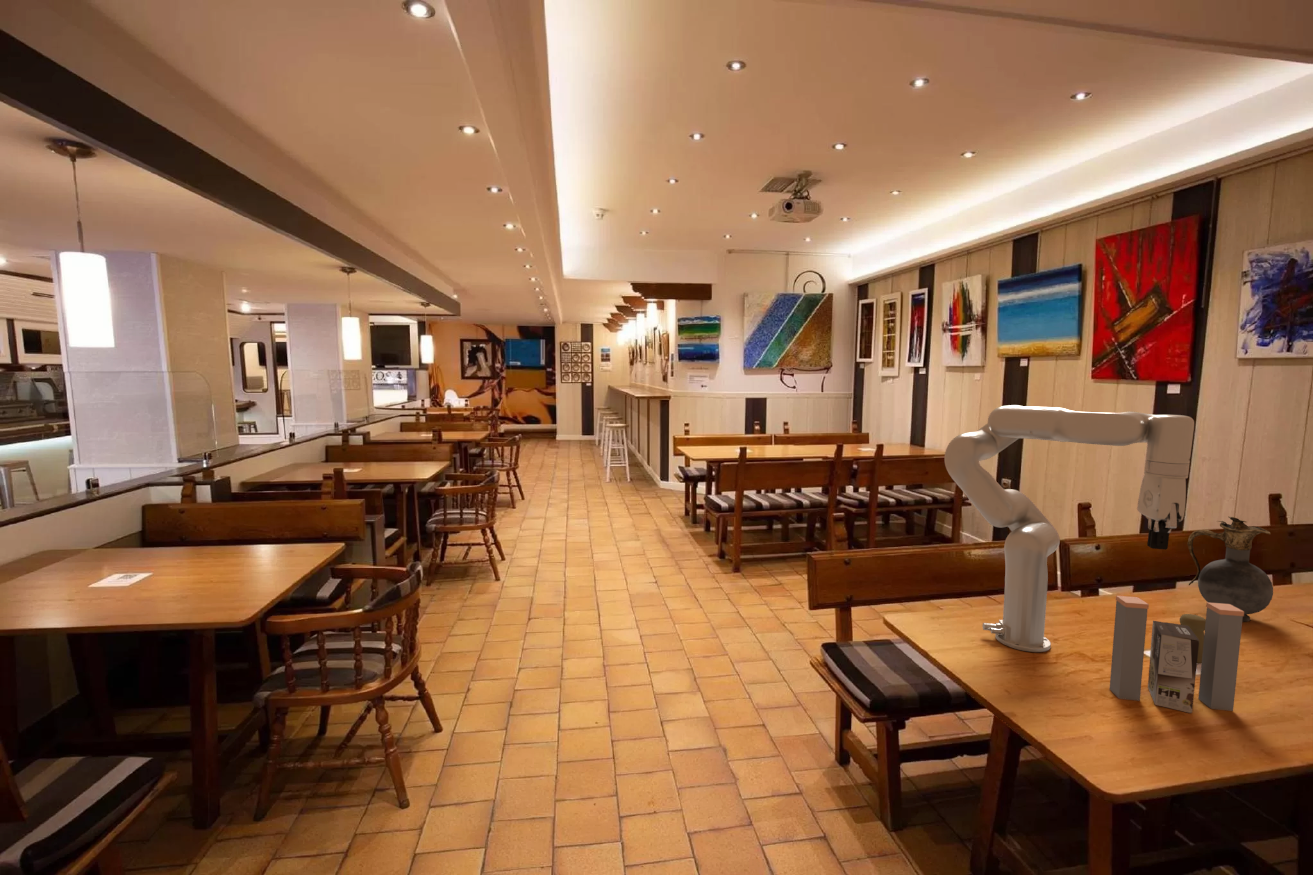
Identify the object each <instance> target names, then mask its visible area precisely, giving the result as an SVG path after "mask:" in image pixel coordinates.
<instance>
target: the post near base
mask: <svg viewBox="0 0 1313 875" xmlns="http://www.w3.org/2000/svg"><path fill="white" fill-rule="evenodd" d="M1115 602H1116V603H1115V614H1114V616H1115V617H1114V628H1113V642H1112V652H1111V654H1112V655H1111V666H1110V677H1109V678H1110V679H1109V691H1111V693H1112V694H1114V695H1115V696H1116V697H1117V698H1118V699H1120V700H1128V701H1129V700H1130V701H1138V702H1139V701H1141V693H1142V692H1141V690H1142V679H1143V668H1144V658H1145V657H1144V656H1145V655H1144V654H1145V645H1146V644H1145V643H1146V635H1147V634H1146V631H1147V622H1148V621H1147V620H1148V610H1149V606H1150V605H1149V603H1147V602H1146V601H1144V600H1143V599H1141V598H1139V597H1136V596H1126V595H1125V596H1124V595H1116V596H1115Z"/></svg>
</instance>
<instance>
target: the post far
mask: <svg viewBox="0 0 1313 875" xmlns="http://www.w3.org/2000/svg"><path fill="white" fill-rule="evenodd" d="M1205 604H1206V606H1205V607H1206V614H1205V619H1206V623H1205V631H1204V644H1203V654H1202V663H1201V664H1200V665H1201V667H1200V675H1199V676H1200V677H1199V687H1198V696H1197V697H1198V700H1199V701H1200V702H1202V703H1203V705H1206V706H1207V707H1208V708H1209V709H1212V710H1220V711H1230V712H1233V711H1234V707H1235V706H1234V705H1235V696H1236V695H1235V694H1236V685H1237V676H1238V669H1239V668H1238V666H1239V657H1240V656H1239V655H1240V647H1241V638H1242V628H1243V626H1242V625H1243V621H1242V619H1243V616H1244V611H1242V610H1240V609H1238V608H1236V607H1234V606H1233V605H1231V604H1222V603H1209V602H1207V601H1206V603H1205Z"/></svg>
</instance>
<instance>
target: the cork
mask: <svg viewBox="0 0 1313 875" xmlns="http://www.w3.org/2000/svg"><path fill="white" fill-rule="evenodd" d="M1179 623H1180V625H1186V626H1189V627H1190V629H1191V630H1192V631H1193V633H1194V634H1195V635H1196V637H1197V638H1198V639H1199V641H1200V642H1199V650H1198V659H1197V664H1202V654H1203V644H1204V633H1205V623H1206V618H1205V617H1202V616H1200V615H1196V614H1193V613H1184V614H1182V615H1181V616H1179Z"/></svg>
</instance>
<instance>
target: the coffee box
mask: <svg viewBox="0 0 1313 875" xmlns="http://www.w3.org/2000/svg"><path fill="white" fill-rule="evenodd" d="M1199 642H1200V641H1199V639H1198V638H1197V637H1196V635H1195V634H1194V633H1193V631H1192V630H1191V629H1190V627H1189V626H1186V625H1181V624H1179V623H1174V622H1173V623H1172V622H1164V621H1157V620H1152V628H1151V639H1150V652H1149V653H1150V654H1149V665H1148V666H1149V667H1148V680H1147V689H1148V691H1149V694H1150V696H1151V699H1152V701H1153V703H1154V705H1155V706H1159V707H1164V708H1167V709H1172V710H1177V711H1180V712H1185V713H1188V714H1192V713H1193V706H1194V700H1195V698H1194V697H1195V696H1194V695H1195V686H1196V679H1197V678H1196V676H1197V668H1198V663H1197V659H1198V650H1199Z"/></svg>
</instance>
